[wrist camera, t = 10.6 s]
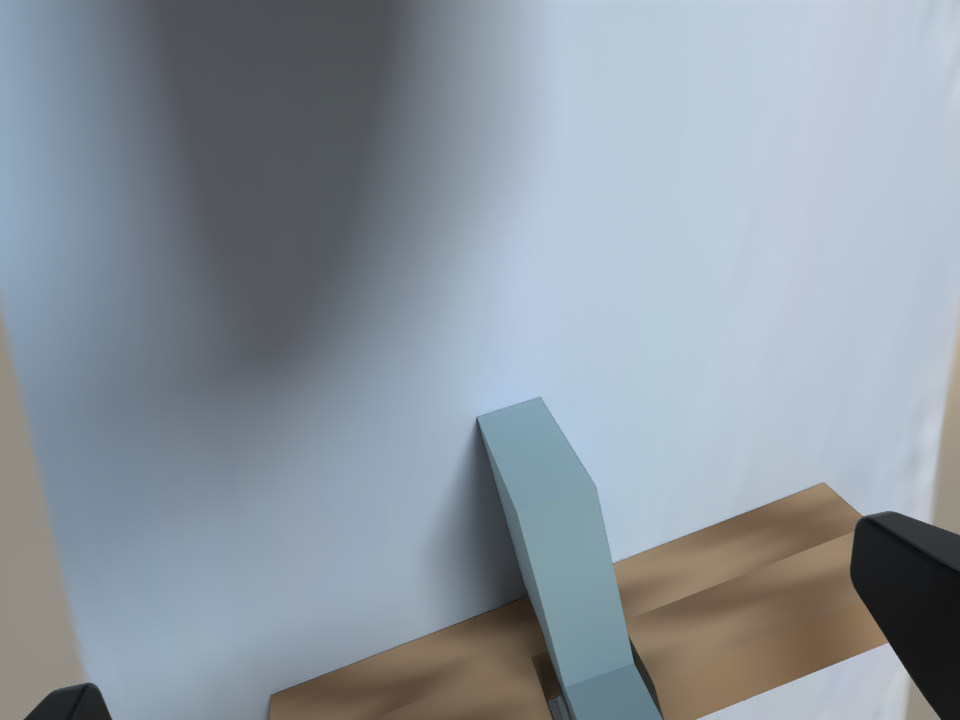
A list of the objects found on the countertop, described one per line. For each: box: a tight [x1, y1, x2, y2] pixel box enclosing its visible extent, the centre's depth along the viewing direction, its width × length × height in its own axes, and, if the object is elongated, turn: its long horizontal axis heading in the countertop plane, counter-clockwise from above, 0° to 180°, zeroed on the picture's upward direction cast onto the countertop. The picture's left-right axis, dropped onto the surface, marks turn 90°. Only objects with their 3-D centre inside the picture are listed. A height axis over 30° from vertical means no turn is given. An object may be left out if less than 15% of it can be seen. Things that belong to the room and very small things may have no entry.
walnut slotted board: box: [269, 483, 888, 720], centre depth 24 cm, size 20×2×5 cm, turn 107°
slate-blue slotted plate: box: [477, 397, 663, 720], centre depth 22 cm, size 16×2×8 cm, turn 14°
